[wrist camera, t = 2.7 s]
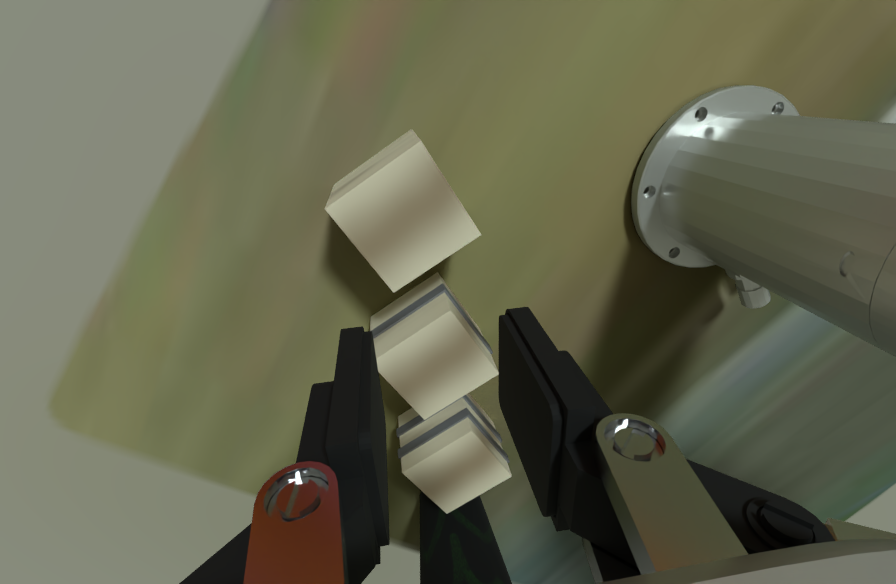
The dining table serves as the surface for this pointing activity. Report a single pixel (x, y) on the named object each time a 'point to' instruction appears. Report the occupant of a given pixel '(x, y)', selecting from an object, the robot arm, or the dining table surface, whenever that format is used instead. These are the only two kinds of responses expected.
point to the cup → (458, 545)
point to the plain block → (401, 212)
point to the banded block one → (430, 347)
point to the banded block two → (452, 453)
